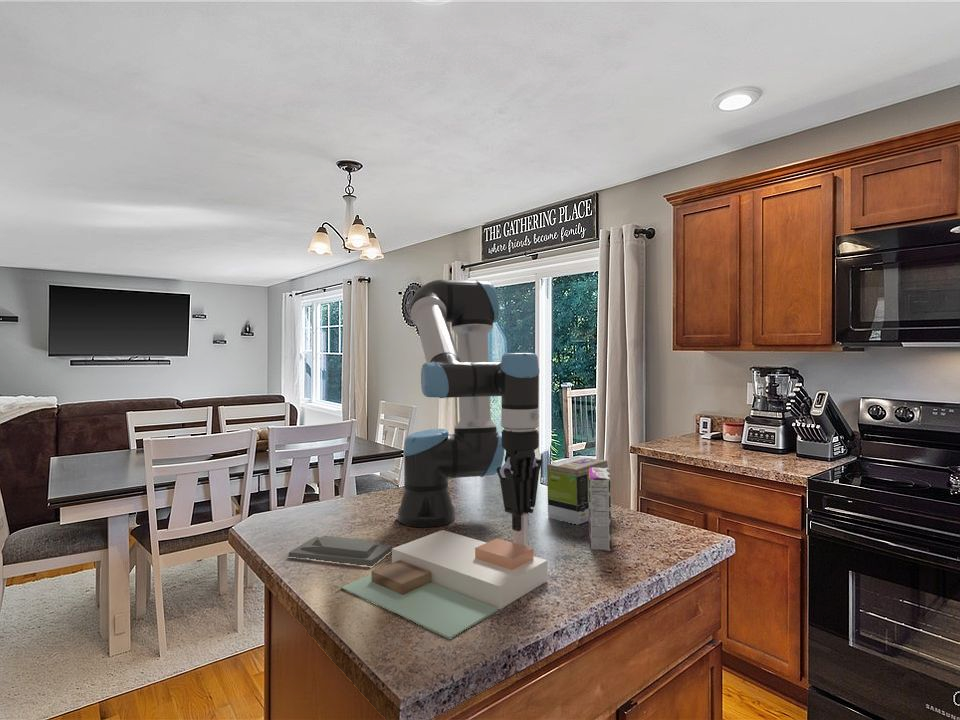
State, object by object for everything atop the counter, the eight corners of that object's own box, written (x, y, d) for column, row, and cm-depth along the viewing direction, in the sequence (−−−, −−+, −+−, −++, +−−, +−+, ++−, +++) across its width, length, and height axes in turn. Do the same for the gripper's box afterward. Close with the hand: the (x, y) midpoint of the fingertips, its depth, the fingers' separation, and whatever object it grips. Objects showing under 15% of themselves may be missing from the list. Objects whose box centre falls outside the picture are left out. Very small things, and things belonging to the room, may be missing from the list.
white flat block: (392, 568, 110) (391, 548, 110) (442, 547, 121) (442, 529, 121) (499, 609, 92) (499, 586, 92) (547, 580, 103) (547, 560, 103)
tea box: (579, 506, 153) (579, 455, 153) (609, 513, 146) (609, 460, 146) (546, 517, 143) (546, 462, 143) (577, 526, 136) (577, 468, 136)
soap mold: (315, 544, 125) (315, 529, 125) (393, 553, 119) (393, 538, 119) (288, 561, 115) (287, 545, 115) (371, 572, 109) (371, 555, 109)
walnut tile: (371, 581, 102) (371, 570, 102) (399, 569, 108) (399, 560, 108) (402, 595, 96) (402, 584, 96) (430, 582, 102) (430, 571, 102)
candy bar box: (588, 533, 130) (588, 466, 130) (609, 535, 129) (609, 467, 129) (588, 550, 119) (588, 477, 119) (611, 552, 118) (611, 478, 118)
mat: (340, 588, 100) (340, 586, 100) (390, 568, 109) (390, 566, 109) (450, 639, 82) (450, 637, 82) (498, 610, 91) (498, 608, 91)
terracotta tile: (475, 558, 104) (475, 547, 104) (497, 548, 110) (497, 538, 110) (512, 569, 99) (512, 559, 99) (533, 558, 104) (533, 548, 104)
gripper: (516, 434, 101) (516, 559, 101) (553, 427, 111) (553, 540, 111) (485, 430, 105) (485, 550, 106) (523, 424, 115) (523, 532, 116)
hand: (520, 544), depth 108 cm, fingers closed
